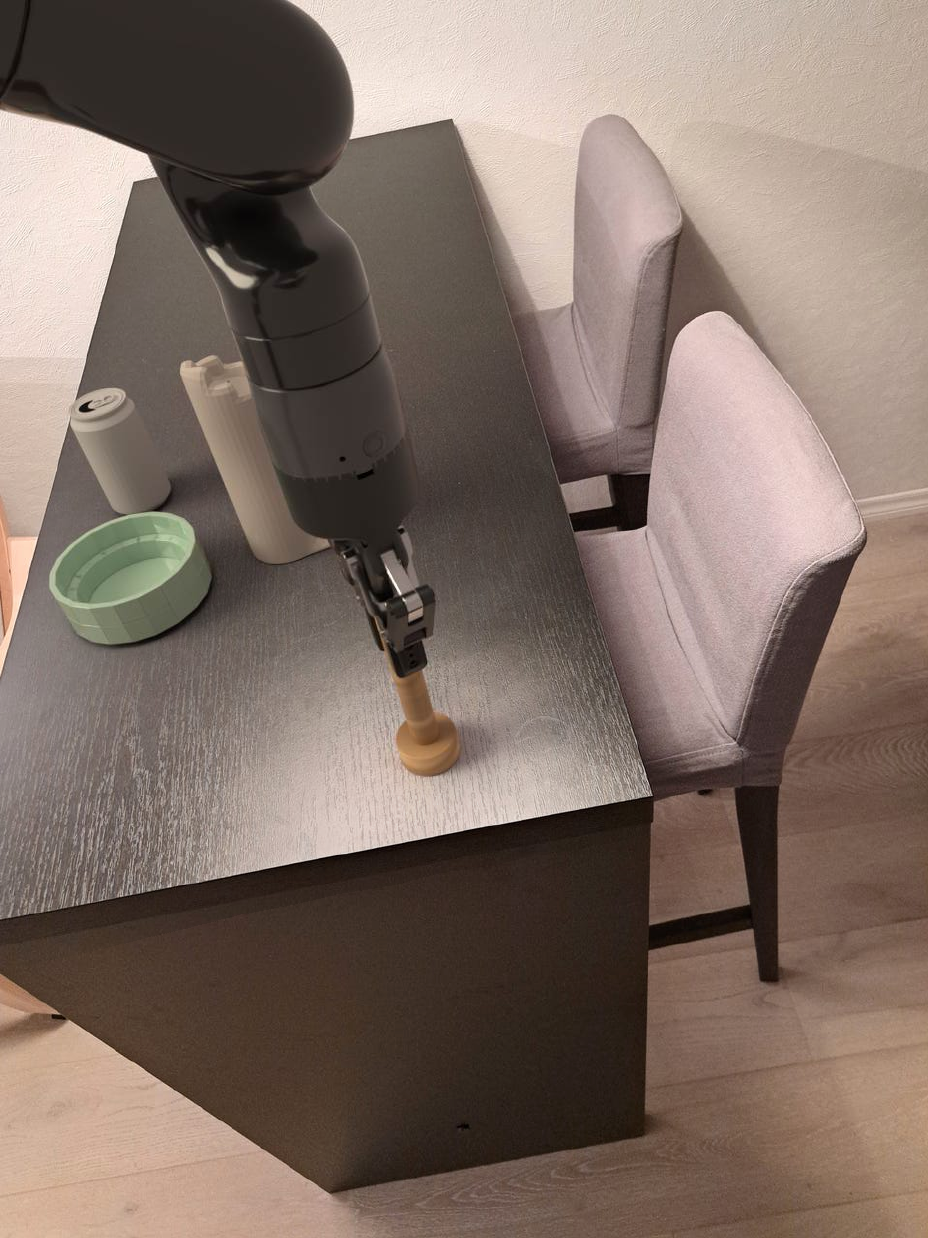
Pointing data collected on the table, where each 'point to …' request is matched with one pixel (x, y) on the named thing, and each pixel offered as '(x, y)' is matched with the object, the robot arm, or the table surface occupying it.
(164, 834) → the table surface
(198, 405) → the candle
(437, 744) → the pestle
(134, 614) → the bowl
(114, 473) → the beverage can
